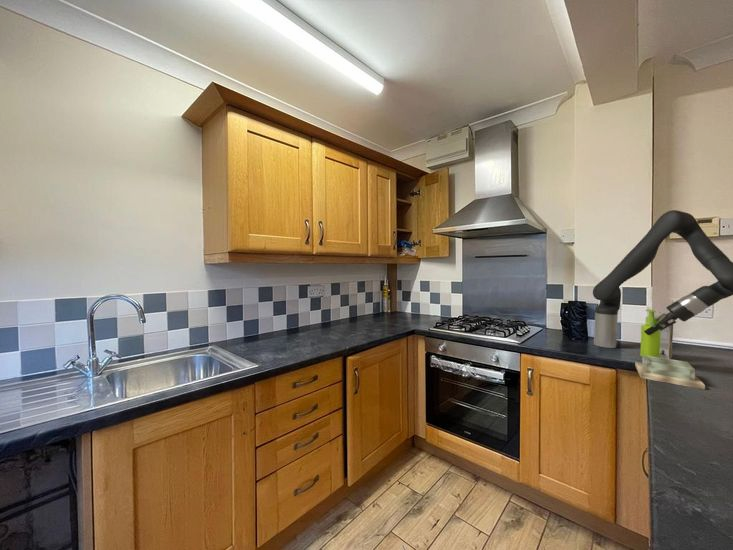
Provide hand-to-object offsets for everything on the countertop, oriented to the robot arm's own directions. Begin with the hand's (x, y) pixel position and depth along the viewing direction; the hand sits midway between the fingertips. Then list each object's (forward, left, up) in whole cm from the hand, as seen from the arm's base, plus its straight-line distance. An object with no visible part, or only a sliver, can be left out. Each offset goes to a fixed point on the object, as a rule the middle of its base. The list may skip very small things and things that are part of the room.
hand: (645, 332), depth 126 cm
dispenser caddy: (+5, -15, -14) cm, 21 cm away
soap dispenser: (+2, 0, -10) cm, 11 cm away
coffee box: (+8, +18, -14) cm, 24 cm away
